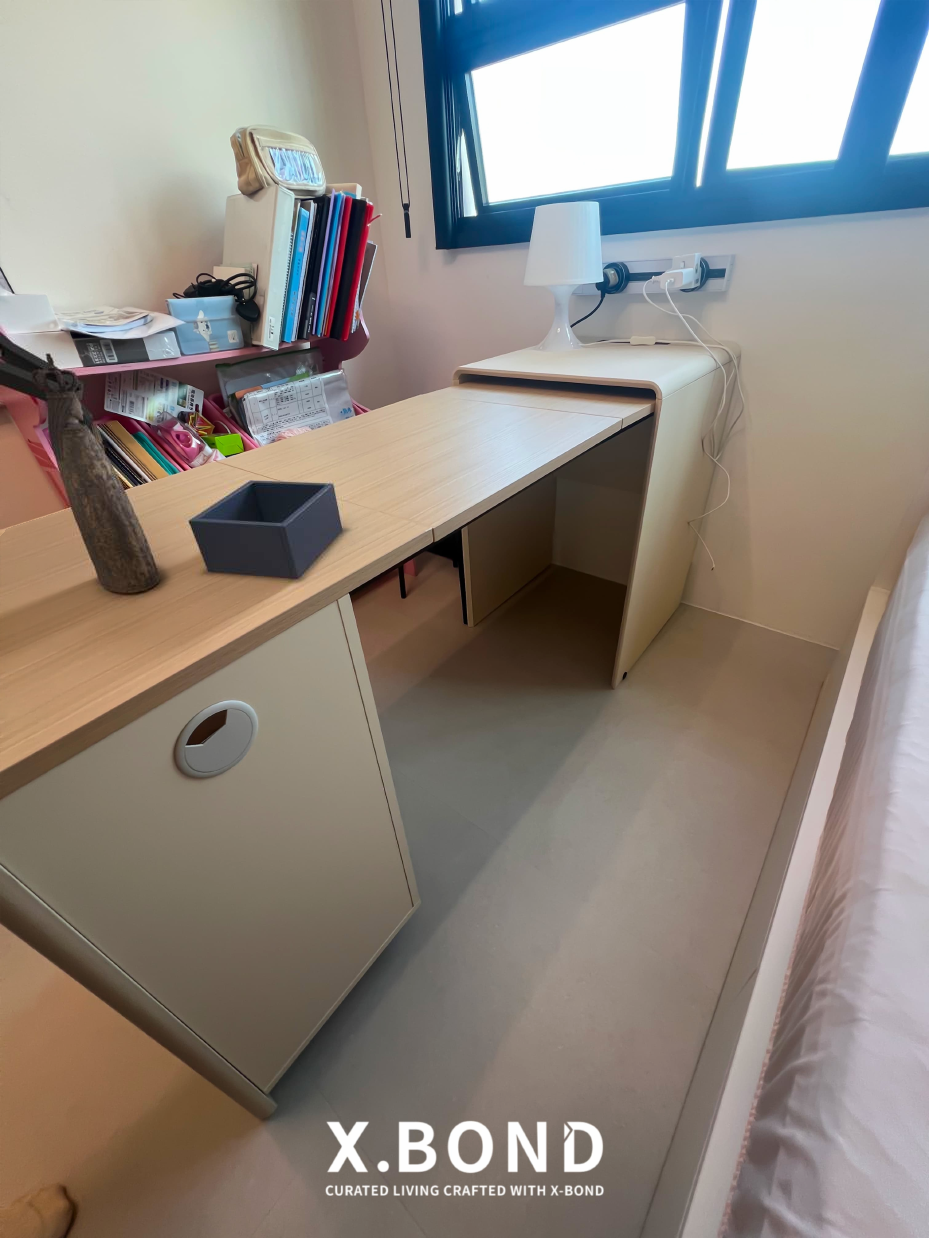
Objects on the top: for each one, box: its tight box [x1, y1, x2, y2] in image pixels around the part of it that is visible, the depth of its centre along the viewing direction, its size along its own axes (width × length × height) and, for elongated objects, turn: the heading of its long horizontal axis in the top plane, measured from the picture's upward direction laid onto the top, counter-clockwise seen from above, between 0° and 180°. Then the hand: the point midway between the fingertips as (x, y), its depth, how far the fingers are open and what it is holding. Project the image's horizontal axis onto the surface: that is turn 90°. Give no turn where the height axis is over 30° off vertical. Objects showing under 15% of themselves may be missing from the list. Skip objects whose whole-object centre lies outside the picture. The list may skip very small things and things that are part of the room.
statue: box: [31, 352, 161, 594], centre depth 56 cm, size 9×8×25 cm
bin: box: [188, 479, 344, 580], centre depth 66 cm, size 13×14×7 cm
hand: (43, 465), depth 56 cm, fingers open, 13 cm apart
